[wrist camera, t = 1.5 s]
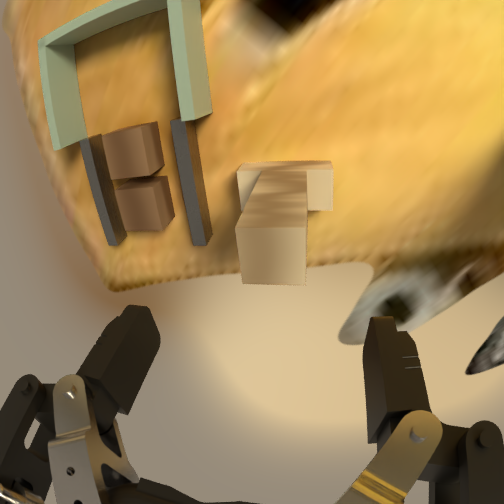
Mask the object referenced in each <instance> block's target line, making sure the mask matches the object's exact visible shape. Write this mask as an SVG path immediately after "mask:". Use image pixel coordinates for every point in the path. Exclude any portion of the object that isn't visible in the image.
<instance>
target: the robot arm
mask: <svg viewBox="0 0 504 504" xmlns="http://www.w3.org/2000/svg"><path fill="white" fill-rule="evenodd" d="M159 347H160V334H159V331H158V329H157V326H156V324H155V321H154V319H153V316H152V314H151V311H150V309H149V308H148V307H147V306H137V305H128V306H127V307H126V308H125V310H124V311H123V313H122V314H121V316H120V317H118V316H117V317H116V318H115V319H114V320H112V321H111V322H110V323H109V324H108V325H107V326H106V328H105V329H104V331H103V332H102V334H101V337H99V338H98V340H97V341H96V345H94V346H93V348H92V349H91V351H90V352H89V354H88V356H87V357H86V359H85V361H84V362H83V364H82V365H81V367H80V369H79V370H78V372H77V373H76V374H70V375H66V376H64V377H62V378H61V379H60V380H59V381H58V382H57V383H56V384H42V383H41V382H40V381H39V380H38V379H37V377H35V376H34V375H32V374H28V375H25V376H23V377H21V378H20V379H19V380H18V381H17V382H16V384H15V385H14V387H13V389H12V391H11V393H10V394H9V396H8V398H7V399H6V401H5V403H4V405H3V407H2V408H1V410H0V504H44V501H45V499H46V496H47V492H48V490H49V487H50V485H51V482H52V480H53V486H54V491H55V496H56V501H57V504H257V503H249V502H242V501H237V502H219V503H218V502H216V503H203V502H199V501H197V500H195V499H193V498H191V497H189V496H187V495H185V494H183V493H181V492H179V491H178V490H176V489H174V488H172V487H170V486H167V485H163V484H160V483H156V482H153V481H150V480H147V479H144V478H140V480H139V478H138V476H137V474H136V472H135V470H134V469H133V467H132V466H131V464H130V463H129V461H128V458H127V455H126V452H125V449H124V446H123V442H122V439H121V435H120V431H119V428H118V423H117V421H116V419H115V416H116V414H117V412H119V413H123V414H125V415H128V414H129V412H130V410H131V407H132V405H133V403H134V401H135V398H136V396H137V394H138V392H139V390H140V388H141V385H142V383H143V381H144V379H145V377H146V375H147V372H148V370H149V368H150V366H151V364H152V362H153V360H154V358H155V356H156V354H157V352H158V350H159ZM363 370H364V380H365V381H364V382H365V395H366V409H367V410H366V411H367V431H368V444H371V443H377V454H376V455H375V457H374V458H373V459H372V461H371V462H370V463H369V464H368V466H367V467H366V468H365V469H364V471H363V472H362V473H361V474H360V475H359V477H358V478H357V479H356V480H355V481H354V482H353V483H352V485H351V486H350V487H349V488H348V489H347V491H346V492H344V494H343V495H342V496H341V497H340V498H339V499H338V500H337V501H336V502H335V503H334V504H404V499H405V497H406V495H407V493H408V492H409V491H410V489H411V488H412V486H413V485H414V483H415V482H416V480H422V481H429V504H504V444H503V439H502V434H501V431H500V429H499V428H498V427H497V426H496V424H494V423H493V422H490V421H479V422H477V423H475V424H474V425H473V426H472V427H471V428H464V427H457V426H451V425H446V424H444V423H442V422H441V421H440V420H439V419H438V418H437V417H436V416H435V415H434V414H432V411H431V409H430V406H429V401H428V395H427V390H426V386H425V381H424V377H423V372H422V369H421V364H420V360H419V358H418V352H417V348H416V344H415V342H414V340H413V339H412V338H411V336H410V335H409V334H408V333H407V331H398V332H397V329H396V325H395V321H394V318H393V317H392V316H385V317H371V318H370V322H369V326H368V330H367V335H366V339H365V343H364V347H363ZM34 418H35V419H36V420H37V421H38V422H40V423H41V424H40V426H39V428H38V430H37V432H36V434H35V437H34V439H33V441H32V443H31V445H30V447H29V449H26V448H25V445H24V439H25V437H26V435H27V433H28V431H29V428H30V427H31V424H32V422H33V420H34Z"/></svg>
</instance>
